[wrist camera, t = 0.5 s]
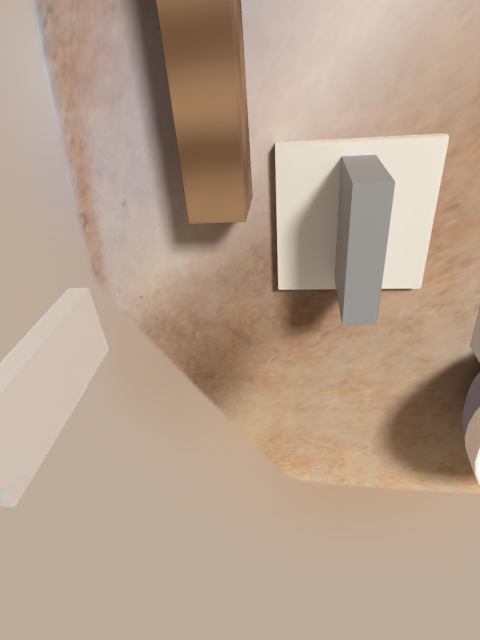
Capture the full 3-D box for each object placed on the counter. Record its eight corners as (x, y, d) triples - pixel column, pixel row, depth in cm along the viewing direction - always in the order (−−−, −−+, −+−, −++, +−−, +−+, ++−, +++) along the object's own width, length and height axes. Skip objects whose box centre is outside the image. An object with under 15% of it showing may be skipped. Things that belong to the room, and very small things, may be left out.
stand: (275, 142, 31) (270, 169, 25) (445, 133, 30) (488, 159, 23) (278, 284, 38) (275, 335, 31) (417, 282, 36) (445, 336, 30)
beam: (154, -210, 23) (114, -281, 18) (228, -223, 22) (208, -300, 17) (204, 197, 35) (189, 223, 30) (252, 195, 34) (245, 221, 29)
